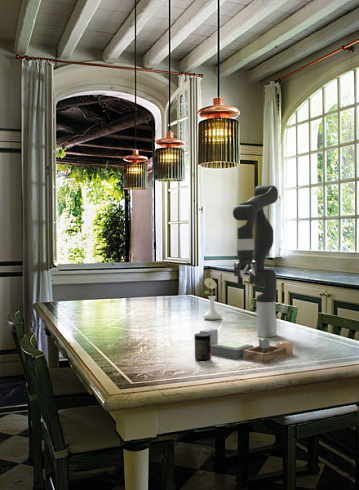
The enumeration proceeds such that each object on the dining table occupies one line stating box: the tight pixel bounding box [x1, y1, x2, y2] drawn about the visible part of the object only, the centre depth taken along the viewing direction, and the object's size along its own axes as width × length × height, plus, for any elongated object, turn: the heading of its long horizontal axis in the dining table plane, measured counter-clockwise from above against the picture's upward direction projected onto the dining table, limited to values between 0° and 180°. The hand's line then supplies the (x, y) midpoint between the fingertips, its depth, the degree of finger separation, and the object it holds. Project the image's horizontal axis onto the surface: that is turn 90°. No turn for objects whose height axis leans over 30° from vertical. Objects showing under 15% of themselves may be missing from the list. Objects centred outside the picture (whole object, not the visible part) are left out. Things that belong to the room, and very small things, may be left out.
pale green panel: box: [216, 340, 249, 349], centre depth 215 cm, size 8×11×1 cm
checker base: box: [211, 340, 254, 360], centre depth 216 cm, size 11×14×4 cm
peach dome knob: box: [275, 340, 294, 357], centre depth 213 cm, size 7×7×5 cm
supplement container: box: [194, 332, 212, 363], centre depth 207 cm, size 7×7×10 cm
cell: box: [258, 337, 271, 353], centre depth 209 cm, size 4×4×7 cm
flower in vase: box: [202, 277, 223, 321], centre depth 307 cm, size 13×11×25 cm
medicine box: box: [199, 328, 219, 345], centre depth 226 cm, size 8×4×9 cm, turn 141°
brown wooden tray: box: [242, 344, 287, 364], centre depth 208 cm, size 11×15×4 cm
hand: (246, 284), depth 229 cm, fingers open, 8 cm apart
